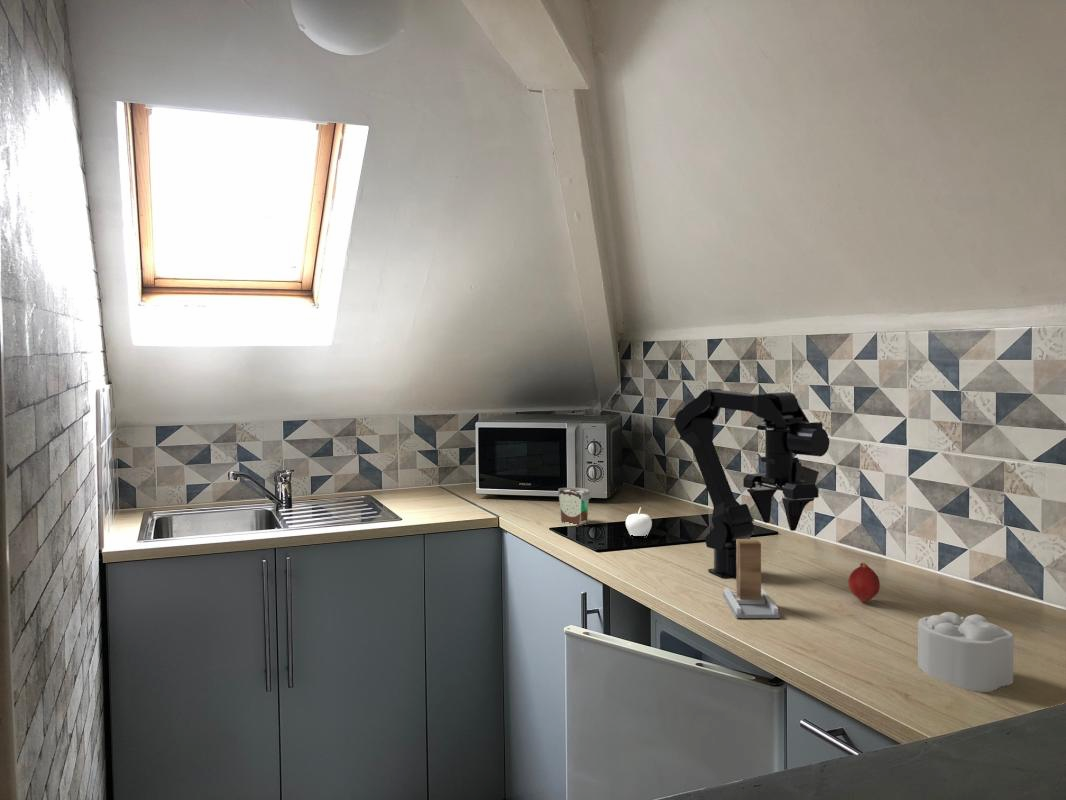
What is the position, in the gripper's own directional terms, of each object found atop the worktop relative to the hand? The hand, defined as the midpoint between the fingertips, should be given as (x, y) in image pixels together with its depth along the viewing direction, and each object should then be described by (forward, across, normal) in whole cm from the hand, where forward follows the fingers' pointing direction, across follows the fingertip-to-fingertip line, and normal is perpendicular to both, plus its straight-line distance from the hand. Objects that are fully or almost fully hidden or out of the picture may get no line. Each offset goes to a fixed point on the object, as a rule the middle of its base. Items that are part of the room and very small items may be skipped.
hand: (779, 526), depth 179 cm
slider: (+13, -9, +13) cm, 21 cm away
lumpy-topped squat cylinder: (+14, -51, +3) cm, 53 cm away
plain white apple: (+13, +57, +5) cm, 59 cm away
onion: (+13, -15, -9) cm, 22 cm away
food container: (+13, +81, +13) cm, 83 cm away
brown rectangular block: (+13, -8, +13) cm, 20 cm away
